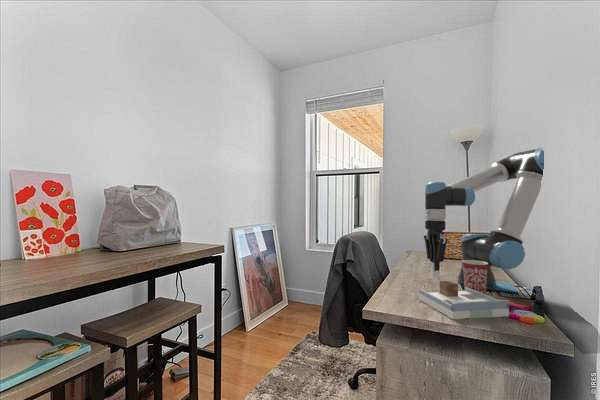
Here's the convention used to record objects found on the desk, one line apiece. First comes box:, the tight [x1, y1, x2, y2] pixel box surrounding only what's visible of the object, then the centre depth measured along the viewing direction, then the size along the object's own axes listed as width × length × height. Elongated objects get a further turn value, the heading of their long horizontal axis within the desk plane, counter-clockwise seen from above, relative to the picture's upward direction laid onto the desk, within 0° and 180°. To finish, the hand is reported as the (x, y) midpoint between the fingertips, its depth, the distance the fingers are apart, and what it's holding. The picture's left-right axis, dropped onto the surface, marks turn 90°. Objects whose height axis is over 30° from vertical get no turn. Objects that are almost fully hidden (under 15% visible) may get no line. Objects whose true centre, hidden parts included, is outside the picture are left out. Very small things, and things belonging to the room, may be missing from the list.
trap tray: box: [418, 287, 510, 320], centre depth 104 cm, size 20×20×5 cm
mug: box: [461, 260, 488, 295], centre depth 120 cm, size 13×9×14 cm
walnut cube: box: [439, 280, 459, 297], centre depth 111 cm, size 4×4×4 cm
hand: (435, 278), depth 119 cm, fingers closed
